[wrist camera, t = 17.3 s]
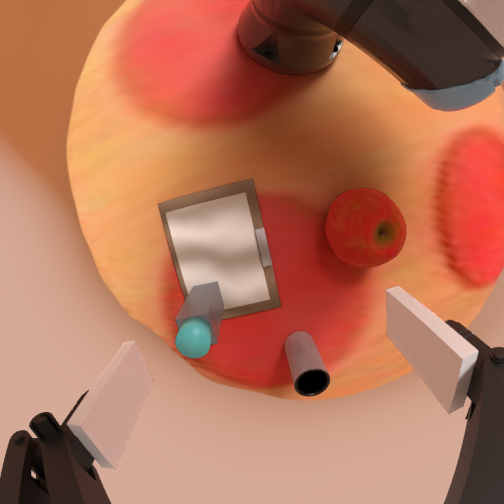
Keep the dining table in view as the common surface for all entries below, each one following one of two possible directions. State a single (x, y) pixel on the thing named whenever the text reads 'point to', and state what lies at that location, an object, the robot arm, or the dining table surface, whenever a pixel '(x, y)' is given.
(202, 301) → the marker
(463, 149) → the dining table surface
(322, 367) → the grey hollow cylinder
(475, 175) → the dining table surface
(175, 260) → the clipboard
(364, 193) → the apple
